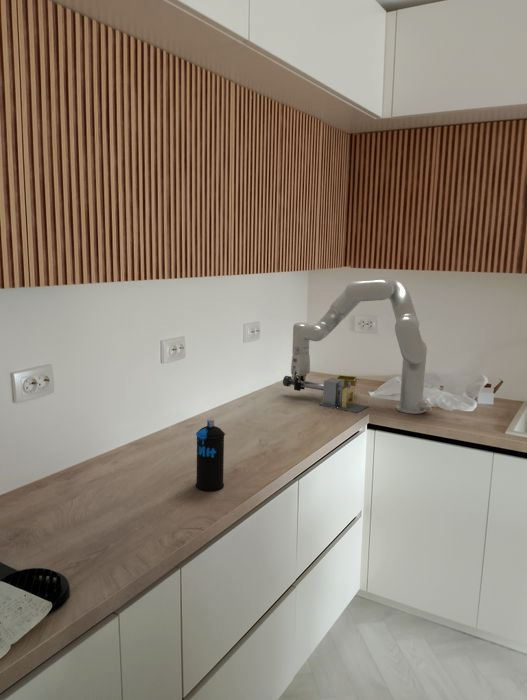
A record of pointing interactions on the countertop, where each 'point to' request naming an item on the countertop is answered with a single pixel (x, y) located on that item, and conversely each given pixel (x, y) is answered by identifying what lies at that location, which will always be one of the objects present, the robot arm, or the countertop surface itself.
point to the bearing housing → (331, 393)
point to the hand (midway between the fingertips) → (299, 389)
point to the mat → (355, 408)
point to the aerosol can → (210, 457)
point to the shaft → (305, 384)
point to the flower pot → (348, 380)
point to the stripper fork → (341, 392)
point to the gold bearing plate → (348, 396)
